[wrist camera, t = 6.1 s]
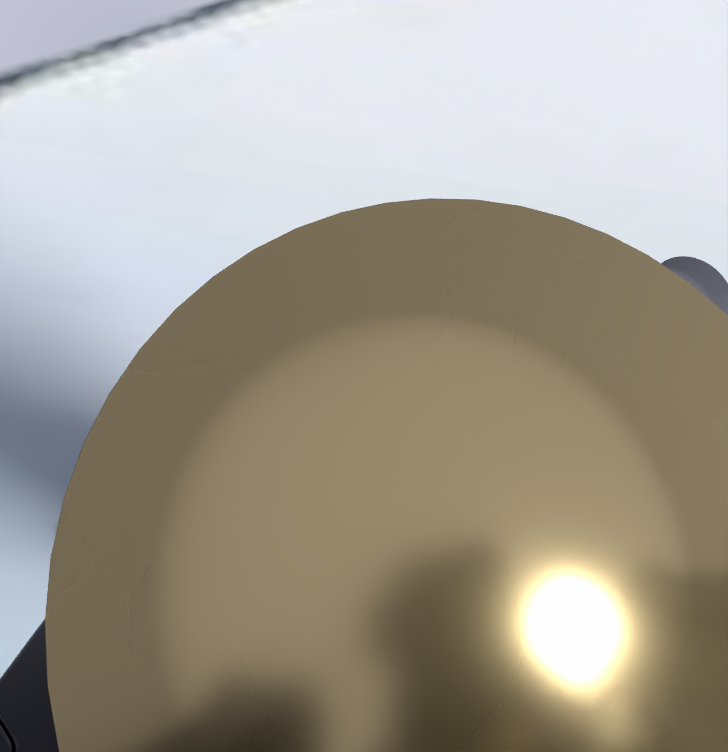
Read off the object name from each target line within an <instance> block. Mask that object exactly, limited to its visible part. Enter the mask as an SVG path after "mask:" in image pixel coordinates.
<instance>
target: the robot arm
mask: <svg viewBox="0 0 728 752" xmlns="http://www.w3.org/2000/svg"><path fill="white" fill-rule="evenodd" d="M0 752H59V748H58V742H57V736H56V730H55V725H54V719H53V713H52V707H51V702H50V696H49V690H48V680H47V655H46V630H45V619H44V621H43V622H42V623H41V625H40V626H39V627H38V629H37V630H36V631H35V633H34V634H33V635H32V637H31V638H30V639H29V641H28V642H27V643H26V645H25V646H24V647H23V649H22V650H21V651H20V653H19V654H18V656H17V657H16V658H15V660H14V661H13V662H12V664H11V665H10V666H9V668H8V669H7V670H6V672H5V673H4V674H3V676H2V677H1V678H0Z"/></svg>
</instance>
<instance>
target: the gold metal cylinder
mask: <svg viewBox="0 0 728 752" xmlns="http://www.w3.org/2000/svg"><path fill="white" fill-rule="evenodd" d="M45 630H46V655H47V680H48V690H49V696H50V702H51V707H52V713H53V719H54V725H55V730H56V736H57V742H58V748H59V752H728V316H727V315H726V314H725V313H724V312H723V311H722V310H721V309H720V308H719V307H717V306H716V305H715V304H714V303H713V302H711V301H710V300H709V299H708V298H707V297H705V296H704V295H703V294H702V293H701V292H699V291H698V290H697V289H696V288H695V287H693V286H692V285H691V284H690V283H689V282H687V281H686V280H684V279H683V278H681V277H680V276H678V275H677V274H675V273H674V272H672V271H671V270H669V269H668V268H666V267H665V266H663V265H662V264H660V263H659V262H657V261H656V260H654V259H653V258H651V257H650V256H648V255H647V254H645V253H643V252H641V251H639V250H637V249H635V248H633V247H631V246H629V245H627V244H625V243H623V242H621V241H620V240H618V239H616V238H614V237H612V236H610V235H608V234H606V233H603V232H601V231H598V230H595V229H593V228H590V227H588V226H585V225H582V224H580V223H577V222H575V221H572V220H569V219H567V218H564V217H560V216H557V215H553V214H549V213H545V212H541V211H538V210H534V209H530V208H526V207H522V206H517V205H510V204H503V203H496V202H489V201H482V200H468V199H421V200H410V201H400V202H389V203H383V204H378V205H373V206H369V207H364V208H360V209H355V210H351V211H346V212H341V213H338V214H335V215H333V216H330V217H327V218H324V219H321V220H318V221H316V222H313V223H310V224H307V225H304V226H301V227H299V228H296V229H294V230H292V231H290V232H288V233H286V234H284V235H282V236H280V237H278V238H276V239H274V240H272V241H270V242H268V243H266V244H264V245H262V246H260V247H258V248H256V249H254V250H252V251H251V252H249V253H248V254H246V255H245V256H243V257H242V258H240V259H239V260H237V261H236V262H234V263H233V264H231V265H230V266H228V267H227V268H225V269H224V270H222V271H221V272H219V273H218V274H216V275H215V276H213V277H212V278H211V279H210V280H209V281H208V282H206V283H205V284H204V285H203V286H202V287H201V288H200V289H198V290H197V291H196V292H195V293H194V294H193V295H191V296H190V297H189V298H188V299H187V300H186V301H185V302H183V303H182V304H181V305H180V306H179V307H178V308H177V309H175V310H174V311H173V313H172V314H171V315H170V316H169V317H168V318H167V319H166V320H165V322H164V323H163V324H162V325H161V326H160V327H159V328H158V329H157V331H156V332H155V333H154V334H153V335H152V336H151V337H150V338H149V339H148V341H147V342H146V343H145V344H144V345H143V346H142V347H141V348H140V350H139V351H138V353H137V354H136V356H135V357H134V359H133V360H132V361H131V363H130V364H129V366H128V367H127V369H126V370H125V372H124V373H123V375H122V376H121V377H120V379H119V380H118V382H117V383H116V385H115V386H114V388H113V389H112V391H111V392H110V394H109V395H108V397H107V399H106V401H105V403H104V405H103V407H102V409H101V411H100V413H99V415H98V417H97V419H96V421H95V423H94V425H93V427H92V429H91V431H90V432H89V434H88V436H87V438H86V440H85V442H84V444H83V447H82V450H81V453H80V456H79V458H78V461H77V464H76V467H75V469H74V472H73V475H72V478H71V480H70V483H69V486H68V489H67V491H66V494H65V497H64V501H63V505H62V510H61V514H60V519H59V523H58V528H57V532H56V537H55V541H54V546H53V550H52V555H51V561H50V572H49V583H48V594H47V605H46V616H45Z"/></svg>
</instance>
